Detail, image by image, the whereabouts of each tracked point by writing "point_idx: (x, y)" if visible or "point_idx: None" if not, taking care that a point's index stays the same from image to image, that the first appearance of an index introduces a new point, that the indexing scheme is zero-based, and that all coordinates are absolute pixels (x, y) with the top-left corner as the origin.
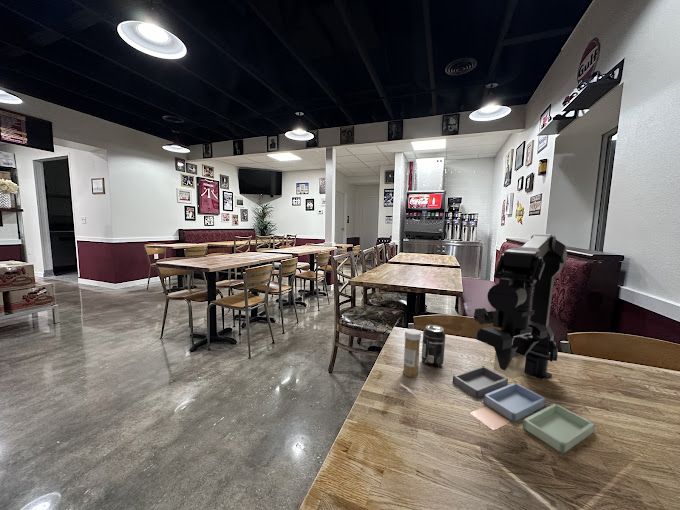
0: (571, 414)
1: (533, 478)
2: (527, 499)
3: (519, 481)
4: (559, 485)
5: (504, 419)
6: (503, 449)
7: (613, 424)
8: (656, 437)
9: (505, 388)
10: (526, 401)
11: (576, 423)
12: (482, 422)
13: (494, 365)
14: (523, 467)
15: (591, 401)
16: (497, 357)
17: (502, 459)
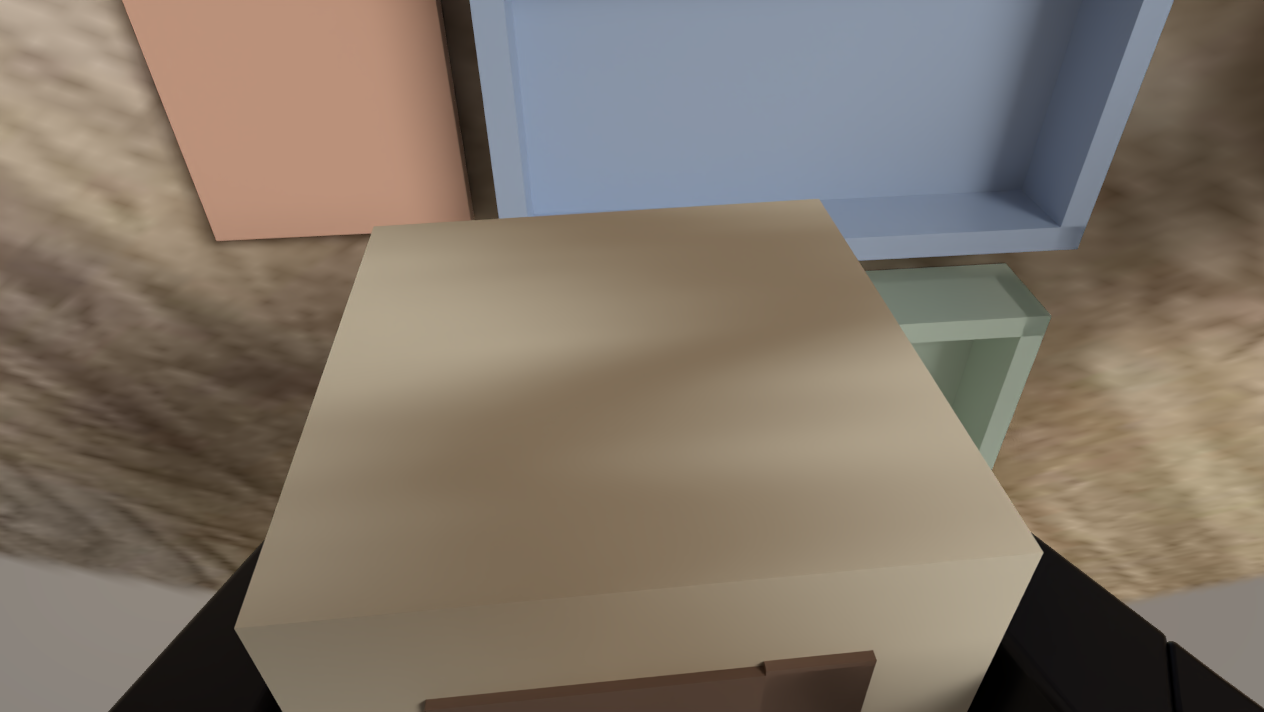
0: (983, 416)
1: (216, 509)
2: (77, 554)
3: (111, 499)
4: None
5: (448, 187)
6: (186, 351)
7: (1175, 454)
8: (1199, 554)
9: None
10: (960, 99)
11: (953, 410)
12: (176, 131)
13: (356, 294)
14: (216, 461)
15: None
16: (147, 677)
17: (111, 395)
